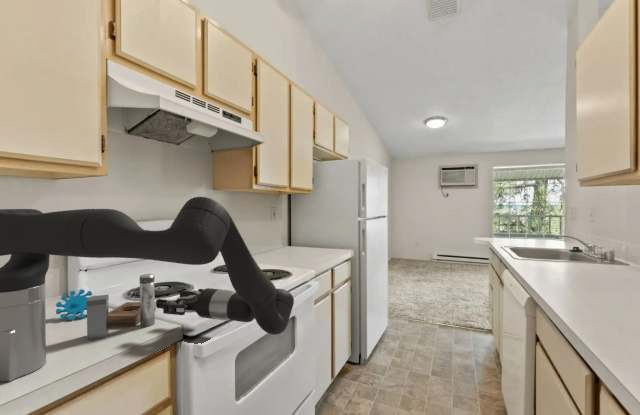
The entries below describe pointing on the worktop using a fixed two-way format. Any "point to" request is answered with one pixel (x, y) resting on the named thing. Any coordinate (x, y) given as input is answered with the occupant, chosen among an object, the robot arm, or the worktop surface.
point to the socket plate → (125, 315)
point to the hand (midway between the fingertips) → (169, 298)
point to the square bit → (97, 317)
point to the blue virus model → (74, 305)
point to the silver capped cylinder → (147, 300)
